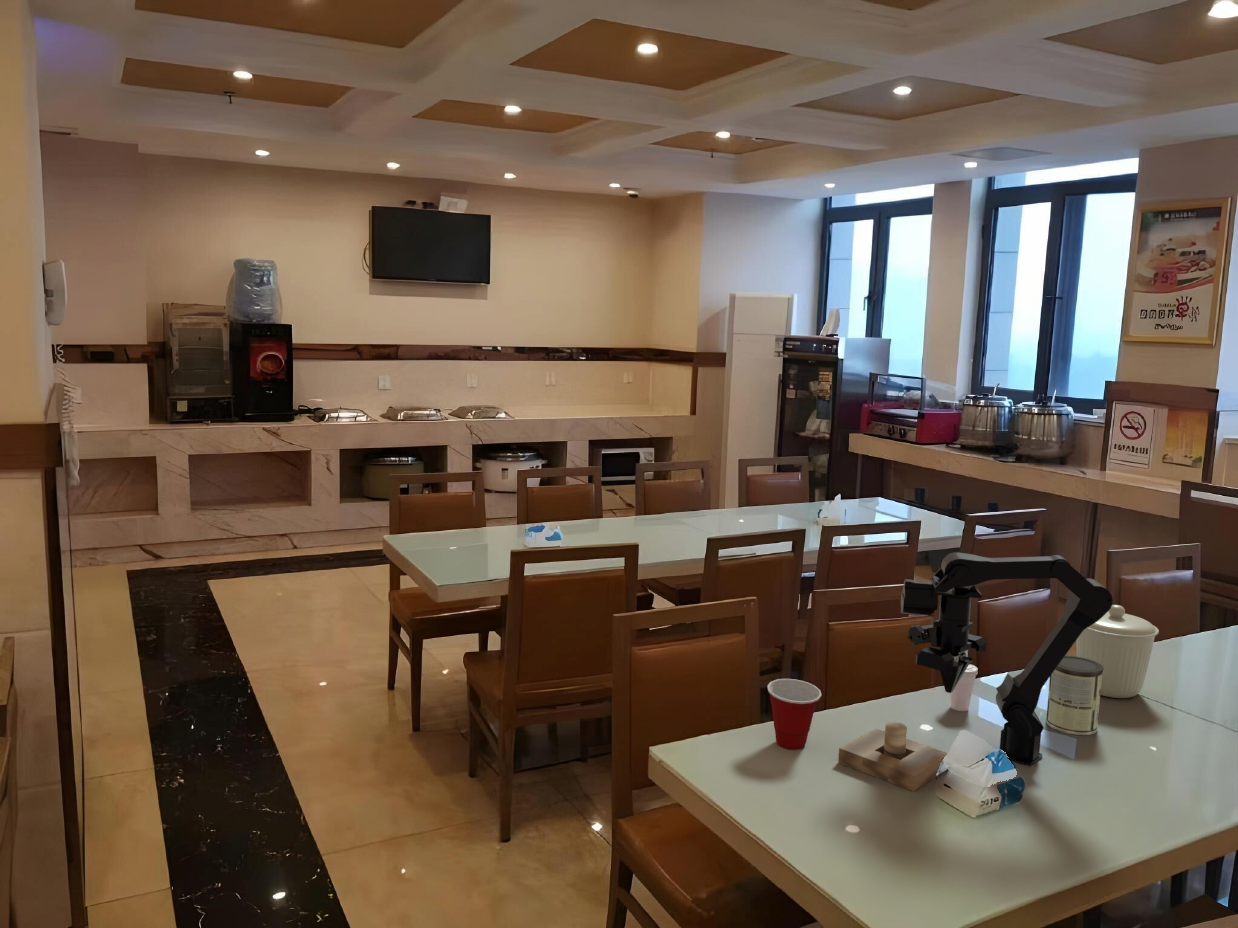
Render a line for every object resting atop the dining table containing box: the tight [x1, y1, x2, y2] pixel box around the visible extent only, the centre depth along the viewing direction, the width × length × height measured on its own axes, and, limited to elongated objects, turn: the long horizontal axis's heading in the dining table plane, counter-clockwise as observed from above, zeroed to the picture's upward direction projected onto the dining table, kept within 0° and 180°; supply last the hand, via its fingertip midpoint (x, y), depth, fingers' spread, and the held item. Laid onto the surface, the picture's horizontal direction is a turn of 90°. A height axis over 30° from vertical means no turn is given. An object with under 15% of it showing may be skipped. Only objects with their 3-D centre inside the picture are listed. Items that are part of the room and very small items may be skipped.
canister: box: [1075, 604, 1160, 699], centre depth 228 cm, size 18×18×21 cm
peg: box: [883, 721, 908, 760], centre depth 186 cm, size 4×4×8 cm
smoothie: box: [949, 650, 979, 712], centre depth 216 cm, size 6×6×14 cm
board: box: [837, 728, 948, 792], centre depth 186 cm, size 16×14×3 cm
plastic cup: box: [767, 678, 822, 751], centre depth 194 cm, size 11×11×12 cm
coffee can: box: [1045, 655, 1104, 736], centre depth 207 cm, size 10×10×14 cm
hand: (948, 691), depth 193 cm, fingers closed
